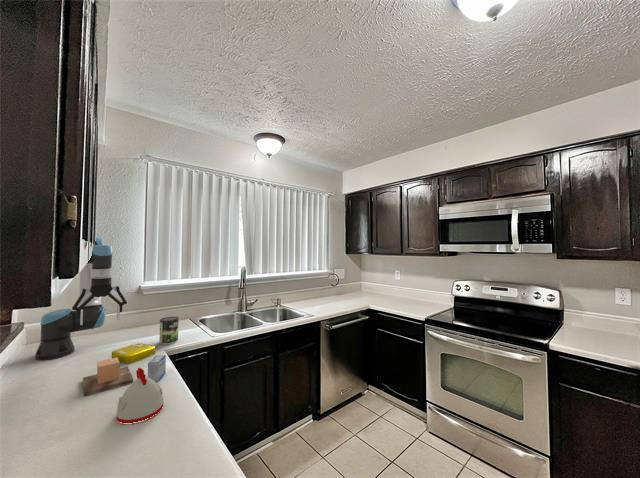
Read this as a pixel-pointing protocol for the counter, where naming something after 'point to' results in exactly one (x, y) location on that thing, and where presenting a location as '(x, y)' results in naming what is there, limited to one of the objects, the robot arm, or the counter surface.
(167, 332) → the coffee can
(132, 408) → the chicken dome
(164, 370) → the medicine box
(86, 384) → the board
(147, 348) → the element tile
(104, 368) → the orange cube
